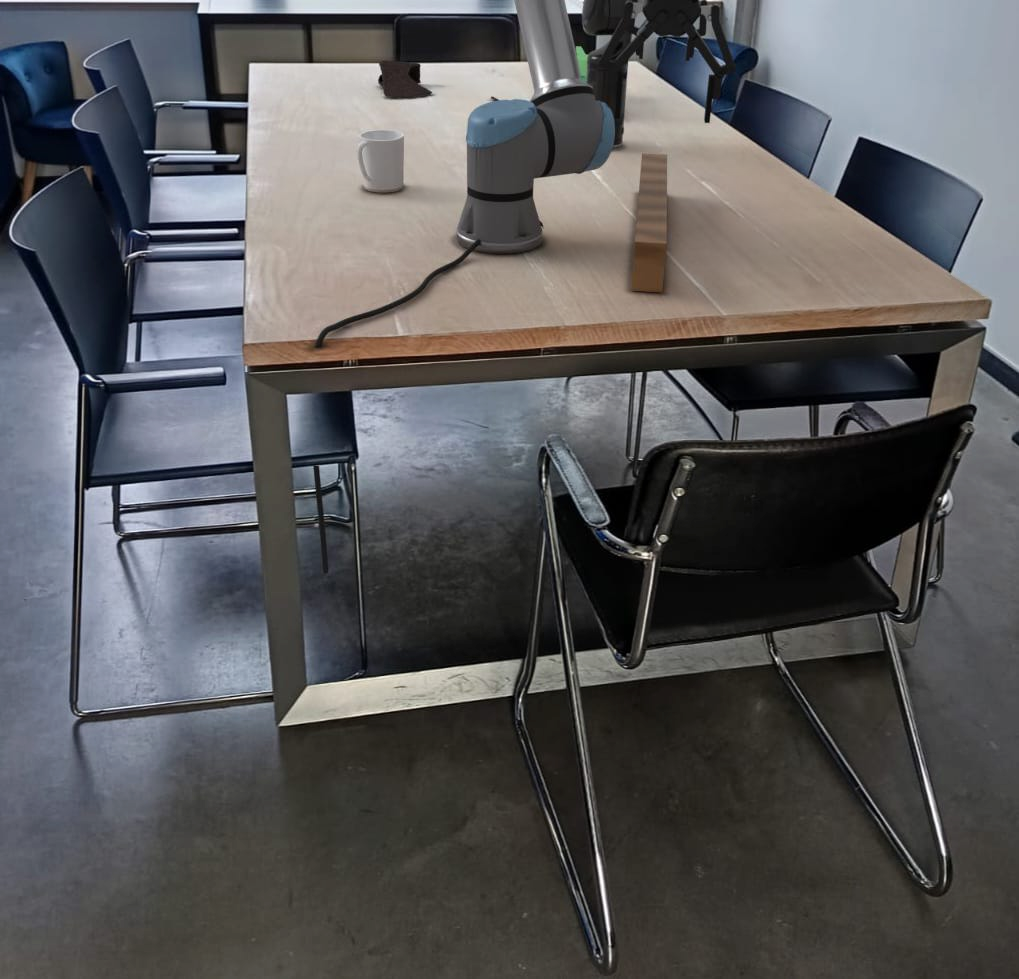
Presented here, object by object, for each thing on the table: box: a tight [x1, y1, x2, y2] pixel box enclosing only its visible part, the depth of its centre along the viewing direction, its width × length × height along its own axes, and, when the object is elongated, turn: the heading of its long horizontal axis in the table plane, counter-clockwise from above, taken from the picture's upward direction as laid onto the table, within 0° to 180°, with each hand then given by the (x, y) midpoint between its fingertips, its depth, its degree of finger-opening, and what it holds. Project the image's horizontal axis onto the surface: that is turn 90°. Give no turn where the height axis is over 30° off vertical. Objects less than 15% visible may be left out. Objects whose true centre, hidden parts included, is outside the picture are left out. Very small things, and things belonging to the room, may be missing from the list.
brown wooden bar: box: [630, 152, 668, 293], centre depth 197 cm, size 55×5×8 cm, turn 173°
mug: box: [356, 129, 405, 194], centre depth 219 cm, size 11×9×10 cm
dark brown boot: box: [377, 59, 433, 99], centre depth 299 cm, size 18×8×15 cm
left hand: (662, 119), depth 167 cm, fingers open, 13 cm apart
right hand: (663, 59), depth 202 cm, fingers open, 8 cm apart
